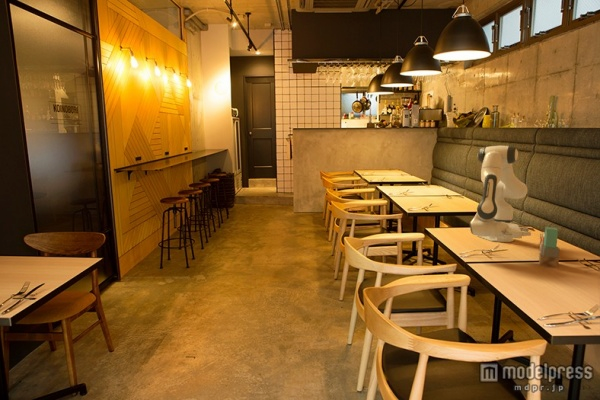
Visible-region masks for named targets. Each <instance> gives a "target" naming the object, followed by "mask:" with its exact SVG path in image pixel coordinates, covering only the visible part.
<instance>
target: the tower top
mask: <svg viewBox="0 0 600 400" xmlns="http://www.w3.org/2000/svg"><path fill="white" fill-rule="evenodd" d="M540 253H541V254H542V256H543V257H550V258H559V259H560V248H559V247H558V246H556V248H547V247H545V246H544V245H541V252H540Z"/></svg>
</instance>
